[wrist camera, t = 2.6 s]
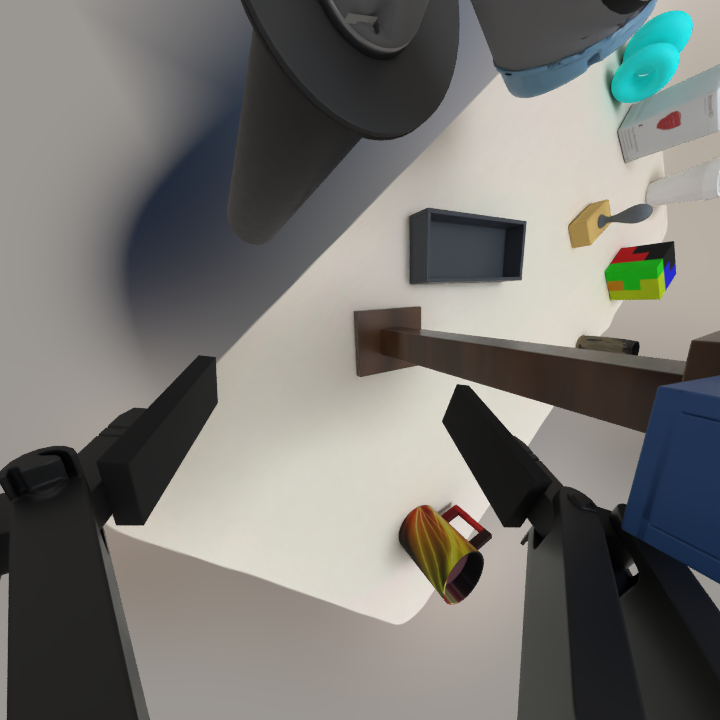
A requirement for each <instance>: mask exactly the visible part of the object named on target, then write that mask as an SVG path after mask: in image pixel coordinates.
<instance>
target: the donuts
mask: <svg viewBox="0 0 720 720" xmlns="http://www.w3.org/2000/svg"><path fill="white" fill-rule="evenodd" d="M692 29H693V23H692V19H691V17H690V16H689V15H688V14H687V13H685V12H683V11H669V12H666V13H663V14H660V15H658V16H656V17H654V18H653V19H651V20H650V21H648V22H647V23H646V24H644V25H643V26H642V27H641V28H640V29H639V30H638V31H637V32H636V33H635V34H634V36H633V37H632V38H631V40H630V41H629V43H628V45H627V47H626V49H625V51H624V55H623V63H622V64H621V66H620V67H619V68H618V70H617V71H616V73H615V75H614V77H613V80H612V84H611V92H612V95H613V96H614V98H615V99H616V100H618V101H620V102H624V103H633V102H638V101H641V100H644V99H646V98H648V97H650V96H652V95H654V94H655V93H657V92H658V91H659V90H660V89H662V88H663V87H664V86H665V85H666V84H667V83H668V81H670V79H671V78H672V77H673V75H674V74H675V72H676V70H677V67H678V64H679V53H680V52H681V51H682V50H683V48H684V47H685V45H686V44H687V42H688V41H689V38H690V36H691V33H692ZM646 74H648V75H646ZM638 75H645V76H638Z"/></svg>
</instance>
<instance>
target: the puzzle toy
mask: <svg viewBox="0 0 720 720" xmlns="http://www.w3.org/2000/svg"><path fill="white" fill-rule="evenodd" d="M675 275H676V265H675V249H674V241H672V242H664V243H657V244H650V245H642V246H635V247H628V248H621V250H620V251H619V252H618V254H617V255H616V257H615V258H614V259H613V261H612V262H611V264H610V265H609V267H608V268H607V269H606V271H605V276H606V280H607V285H608V290H609V294H610V299H611V300H644V299H645V300H647V299H661V297H662V296H663V294H664V292H665V291H666V289H667V287H668V286H669V284H670V283H671V281H672V279H673V278H674V276H675Z"/></svg>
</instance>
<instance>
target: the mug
mask: <svg viewBox="0 0 720 720" xmlns="http://www.w3.org/2000/svg"><path fill="white" fill-rule="evenodd" d="M458 515H459V516H460V517H461V518H463V519H464V520H465V521H466V522H467V523H468V524H470V525H471V526H472V527H473V528H474V529H475V530H477V531H478V532H479V534H477V535H476V536H475V537H474V538H472V539H471V540H470V541H469V542H468V541H467V540H466V539H465V538H464V537H463V536H462V535H461V534H460V533H459V532H458V531H456V530H455V529H454V528H453V527H452V526H451V525H450V524H449V522H450V521H451V520H453V519H454V518H455V517H456V516H458ZM491 538H492V535H491V533H489V532H488V531H487V530H486V529H485V528H483V527H482V526H481V525H480V524H478V523H477V522H476V521H475V520H474V519H473V518H471V517H470V515H468V514H467V513H466V512H465V511H464V510H462V509H461V508H460V507H459V506H457V505H455V506H453V507H452V508H451V509H449V510H448V511H447V512H445V513H444V514H443V515H442V516H440V515H439V514H438V513H437V512H436V511H435V510H434V509H433V508H432V507H430V506H428V505H424V506H420V507H418V508H416V509H414V510H413V511H412V512H411V513H410V514H409V515H408V516H407V517H406V519H405V520H404V522H403V524H402V526H401V528H400V532H399V541H400V544H401V545H402V547H403V548H404V549H405V550H406V552H407V553H408V554H409V556H410V557H411V558H412V559H413V561H414V562H415V563H416V565H417V566H418V567H419V568H420V570H421V571H422V572H423V573H424V575H425V576H426V577H427V579H428V580H429V581H430V582H431V584H432V585H433V586H434V588H435V589H436V590H437V591H438V592H439V594H440V595H441V597H442V598H443V599H444V600H445V602H446V603H447V604H450V605H454V604H457V603H459V602H461V601H462V600H464V599H465V598H466V597H467V596H468V595H469V594H470V593H471V592H472V590H473V589H474V587H475V586H476V584H477V582H478V581H479V579H480V576H481V574H482V570H483V565H484V559H483V556H482V554H481V553H480V552H479V551H478V550H479V549H480V548H481V547H482V546H483V545H484V544H485V543H487V542H488V541H489V540H490V539H491Z"/></svg>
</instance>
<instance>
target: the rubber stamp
mask: <svg viewBox="0 0 720 720" xmlns="http://www.w3.org/2000/svg"><path fill="white" fill-rule="evenodd" d="M652 211H653V209H652V207H651V206H650V205H648V204H639V205H635V206H633V207H631V208H628V209H627V210H625V211H623V212H621V213H619V214H617V215H614V216H611V214H610V205H609V200H603V201H599V202H596V203H592V204H590V205H589V206H588V207H587V208H586V209H585V210H584V211H583V212H582V213H581V214H580V215H579V216H578V217H577V218H576V219H575V220H574V221H573V222H572V223H571V224H570V226H569V233H570V238H571V243H572V247H574V248H576V247H582V246H588V245H591V244H592V243H593V242H594V241H595V240H596V239H597V238H598V237H599V235H600V234H601V233H602V232H603V231H604V230H605V229H606V228H607V227H608V226H609V224H610V223H611V222H620V223H638V222H641V221H643V220H645V219H647V218H648V217H649V216H650V215H651V213H652Z"/></svg>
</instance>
